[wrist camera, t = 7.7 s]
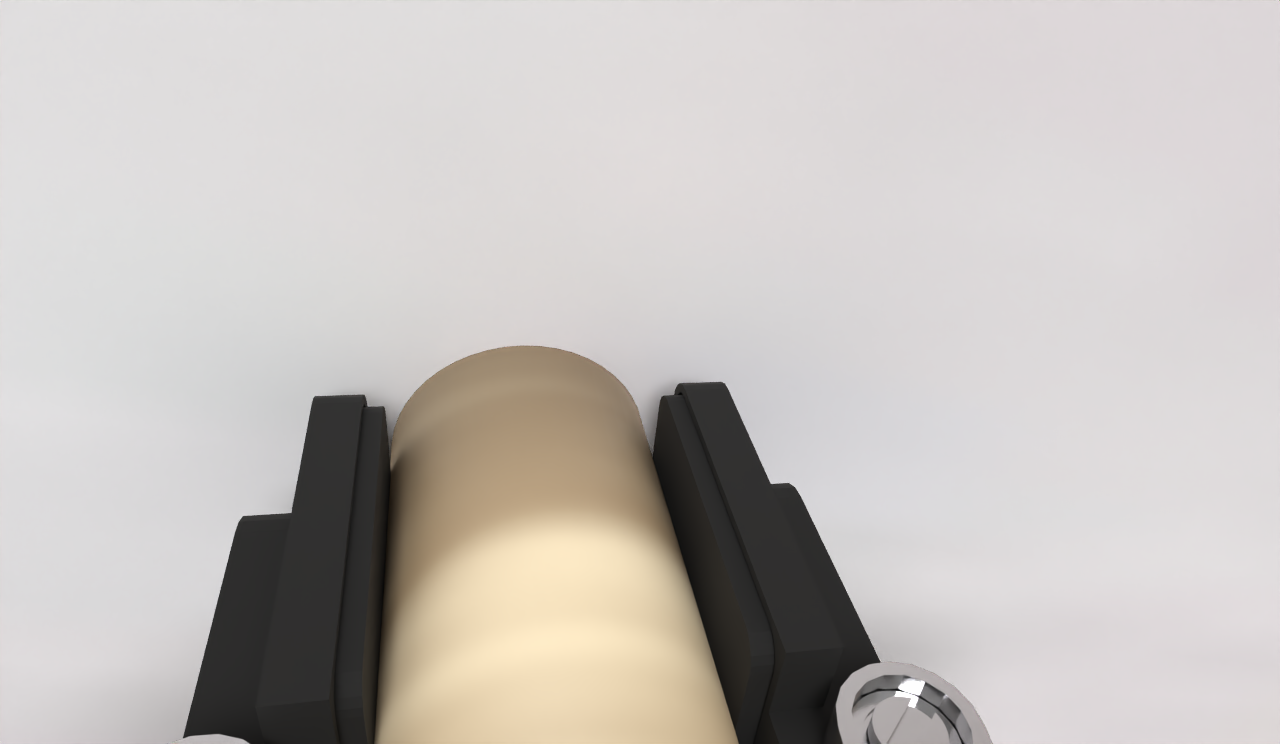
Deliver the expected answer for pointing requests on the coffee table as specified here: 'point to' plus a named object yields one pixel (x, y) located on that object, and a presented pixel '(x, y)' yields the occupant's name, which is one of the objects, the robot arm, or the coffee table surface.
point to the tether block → (536, 568)
